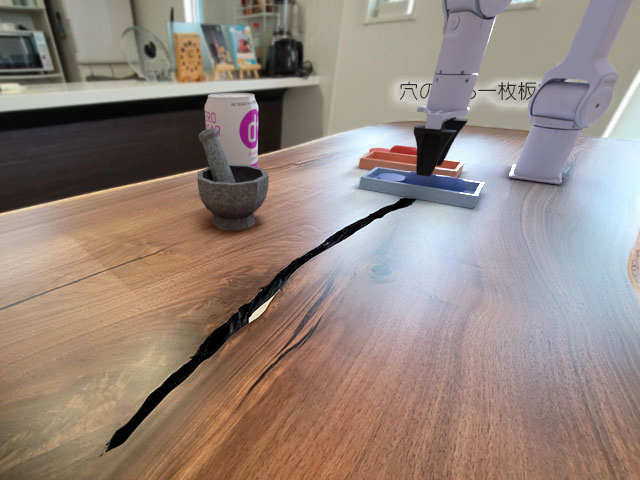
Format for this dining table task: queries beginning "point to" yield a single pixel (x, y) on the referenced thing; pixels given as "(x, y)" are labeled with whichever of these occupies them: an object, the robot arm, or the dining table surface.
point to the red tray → (407, 163)
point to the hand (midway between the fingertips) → (429, 169)
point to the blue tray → (421, 189)
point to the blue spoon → (428, 181)
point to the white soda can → (235, 125)
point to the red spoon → (398, 150)
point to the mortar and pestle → (230, 187)
